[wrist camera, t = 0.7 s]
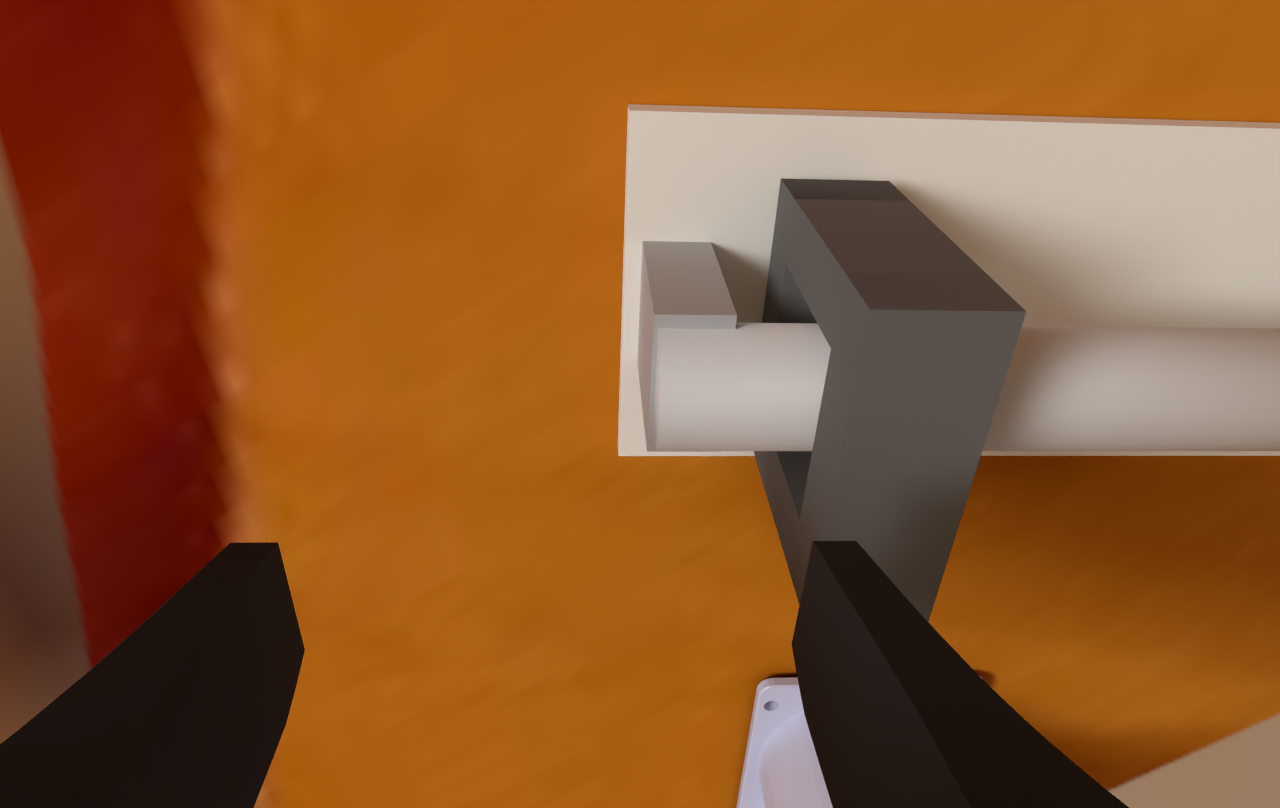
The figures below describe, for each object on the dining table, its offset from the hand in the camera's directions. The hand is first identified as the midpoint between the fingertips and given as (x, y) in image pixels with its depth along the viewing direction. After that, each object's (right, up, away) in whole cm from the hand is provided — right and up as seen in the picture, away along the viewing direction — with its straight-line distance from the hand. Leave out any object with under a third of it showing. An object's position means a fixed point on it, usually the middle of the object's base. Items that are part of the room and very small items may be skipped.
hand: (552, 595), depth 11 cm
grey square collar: (+5, +5, +8) cm, 11 cm away
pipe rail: (+12, +5, +10) cm, 16 cm away
